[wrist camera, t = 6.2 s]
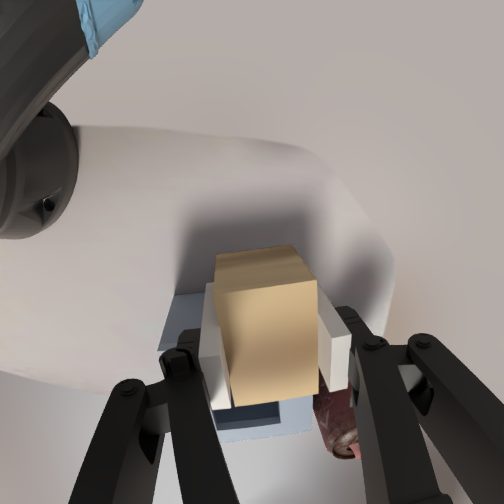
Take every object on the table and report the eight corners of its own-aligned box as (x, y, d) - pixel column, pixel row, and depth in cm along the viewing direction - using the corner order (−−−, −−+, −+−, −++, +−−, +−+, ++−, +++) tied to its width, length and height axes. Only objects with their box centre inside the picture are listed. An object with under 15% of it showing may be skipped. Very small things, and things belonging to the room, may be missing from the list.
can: (306, 384, 38) (336, 470, 24) (291, 348, 36) (321, 440, 22) (350, 365, 37) (393, 445, 24) (339, 328, 35) (388, 411, 22)
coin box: (174, 295, 32) (157, 351, 23) (288, 281, 33) (312, 332, 24) (195, 382, 36) (190, 444, 27) (293, 370, 37) (311, 430, 27)
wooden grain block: (216, 254, 17) (212, 294, 12) (291, 244, 17) (316, 279, 12) (231, 349, 19) (234, 406, 14) (297, 339, 19) (318, 393, 14)
